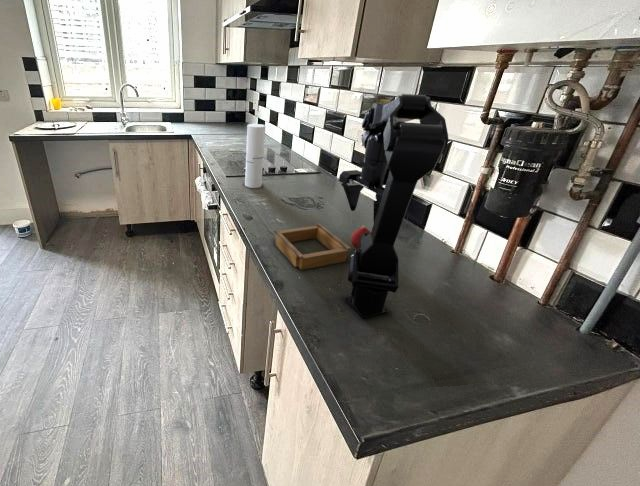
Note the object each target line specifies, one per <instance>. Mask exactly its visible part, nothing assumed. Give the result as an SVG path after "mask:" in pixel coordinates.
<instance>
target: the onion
mask: <svg viewBox="0 0 640 486" xmlns="http://www.w3.org/2000/svg"><path fill="white" fill-rule="evenodd" d="M363 233H368V234H370V233H371V231H370V230H369V229H368V228H367V227H366V225H365V224H363V225H362V226H361V227H359V228H358V229H355V230H354V231H353V233H352V234H351V235H350V242H351V245H352V247H353V248H354V249H355V250H357V248H358V245H359V242H360V238H361V235H362V234H363Z"/></svg>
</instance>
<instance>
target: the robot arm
mask: <svg viewBox="0 0 640 486" xmlns="http://www.w3.org/2000/svg"><path fill="white" fill-rule="evenodd" d="M362 120H363V121H362V123H361V128H362V130H363V131H364V132H363V134H362V136H361V139H360V140H361V144H362V146H363V148H364V149H365V152H364V157H363V160H359V163H358V165H359V166H361V171H360V170H358V169H353V170H342V172H341V173H340V174H339V178H338V182H340V183H341V184H340V185H341V186H342V188H343V191H344V194H345V197H346V199H347V202H348V206H349V209H350V211H351V212H355V211H356V209H357V206H358V202H359V198H360V195H361V191H363V189H364V188H365V189H367V190H369V191H370V192H373V193H375V195H374V196H375V197H374V198H375V200H373V225H372V228H371V231H370V232H371V233H370V234H368V233H363V234H362V235H361V238H360V242H359V245H358V248H357V249H354V250H353V252H352V254H351V255H350V259H349V268H348V269H349V271H348V277H347V281H348V282H349V283H351V286H352V289H351V294H350V295H349V296H346V297H345V299H344V300H345V302H346V303H347V304H348V305H349V306H350V307H351V308H352V309H353V310H354V311H355V313H357V314H358V315H359V316H360V317H361V318H362V319H363V320H366V319H369V318H373V317H377V316H381V315H385V314H387V313H389V309H388V308H387V307H386V306H385V304H386V300H387V297H388V294H389V292H390V293H394V294H396V292H397V290H398V289H399V255H398V252H397V248H396V244H395V243H396V240H397V238H398V234H399V232H400V229H401V227H402V224H403V222H404V218H405V217H406V213H407V210H408V208H409V205H410V202H411V200H412V197H413V195H414V192H415V189H416V187H417V184H418V181H420V180H421V179H422V178H424V177H425V176H426V175H428V174H429V173H430V172H432V171H433V170H434V169H435V168H436V165H437V164H438V162H439V160H440V158H441V156H442V155H444V153H445V152H446V150H447V149H448V148H447V147H448V143H449V133H448V127H447V122H446V119H445V117H444V116H443V115H442V114H441V113H440V112H439V111H437V109H436V108H434V106H432V101H431V97H430V96H426V94H412V93H411V94H409V93H402V94H400V95H397V96H396V97H395V99H393V100H391V101H390V102H387V103H386V102H374V103H373V104H372V106H371V107H369V108H368V111H366V112H365V115H364V117H363V119H362ZM414 120H419V122H410V121H414Z"/></svg>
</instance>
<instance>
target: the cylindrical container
mask: <svg viewBox="0 0 640 486" xmlns="http://www.w3.org/2000/svg"><path fill="white" fill-rule="evenodd" d="M265 138H266V124H263V123H262V124H261V123H260V124H259V123H249V124H247V125H246V150H245V151H246V152H245V175H244V186H245V187H247V188H250V189H257V188H258V189H259V188H261V187H262V184H263V172H264V171H263V170H264V155H265V140H266V139H265Z"/></svg>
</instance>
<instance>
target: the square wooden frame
mask: <svg viewBox="0 0 640 486" xmlns="http://www.w3.org/2000/svg"><path fill="white" fill-rule="evenodd" d="M273 232H274V233H275V244H274V245H275V246H276V247H277V248H278V249H279V250H280V251H281V253H282V254H283V255H284V256H285V257H286V258H287V260H288V261H289V262H290V263H291V265H293V266H294V267H295V268H299V270H300V271H303V270H309V269H313V268H319V267H322V266H323V267H324V266H329V265H334V264H335V265H336V264H339V263H344V262H347V257H348V252H349V251H351V250H352V248H351V246H349V245H348V244H347V243H346V242H344V241H343V240H342V239H341V238H339V237H338V236H337V235H335V234H334V233H333V232H331V230H329V229H328V228H327V227H326V226H324V225H323V224H321V223H320V222H318V223H316V225H309V226H303V227H295V228H290V229H283V230H279V229H277V228H276V229H273ZM312 239H316V240H317V241H319V242H320V243H321V244H322V245H323V246H324V247H326V248H327V250H323V251H322V250H321V251H316V252H310V253H305V254H302V253H301V252H300V251H299V250H298V249H297V247H296V246H294V245H293V243H294V242H301V241H306V240H312Z"/></svg>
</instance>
